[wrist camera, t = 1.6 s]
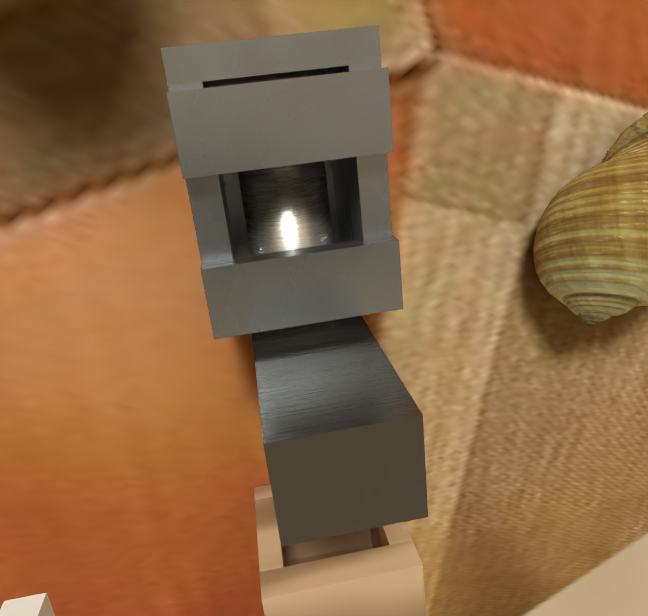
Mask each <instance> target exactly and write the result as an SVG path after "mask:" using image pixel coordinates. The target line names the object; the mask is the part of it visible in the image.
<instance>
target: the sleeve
mask: <svg viewBox="0 0 648 616" xmlns="http://www.w3.org/2000/svg"><path fill="white" fill-rule="evenodd" d="M161 53H162V59H163V64H164V69H165V74H166V79H167V85H168V90H169V92H166V93H167V98H168V103H169V109H170V114H171V119H172V124H173V129H174V134H175V139H176V145H177V150H178V155H179V160H180V165H181V170H182V176H183V179H186V183H187V188H188V194H189V199H190V204H191V209H192V214H193V220H194V225H195V230H196V235H197V240H198V246H199V251H200V256H201V261H202V265H201V273H202V279H203V284H204V289H205V294H206V299H207V304H208V310H209V315H210V320H211V325H212V330H213V335H214V339H219V338H226V337H232V336H238V335H244V334H250V333H256V332H263V331H269V330H275V329H281V328H287V327H294V326H300V325H306V324H312V323H318V322H325V321H331V320H337V319H343V318H349V317H355V316H362V315H368V314H374V313H380V312H386V311H393V310H399V309H403V298H402V282H401V266H400V249H399V240H398V239H397V238H396V237H394V236H393V235H392V223H391V208H390V192H389V177H388V162H387V153H388V152H393V136H392V120H391V103H390V87H389V71H388V68H381V55H380V40H379V25H377V26H367V27H358V28H348V29H338V30H329V31H319V32H309V33H300V34H290V35H281V36H271V37H261V38H252V39H242V40H232V41H223V42H213V43H203V44H194V45H184V46H175V47H165V48H161ZM319 161H325V168H326V178H327V188H328V197H329V207H330V216H331V226H332V236H333V244H326V245H320V246H313V247H306V248H299V249H292V250H285V251H279V252H272V253H265V254H258V255H251V253H250V247H249V240H248V234H247V228H246V222H245V215H244V209H243V203H242V197H241V190H240V184H239V178H238V172H241V171H249V170H257V169H265V168H272V167H280V166H288V165H295V164H303V163H311V162H319Z"/></svg>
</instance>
